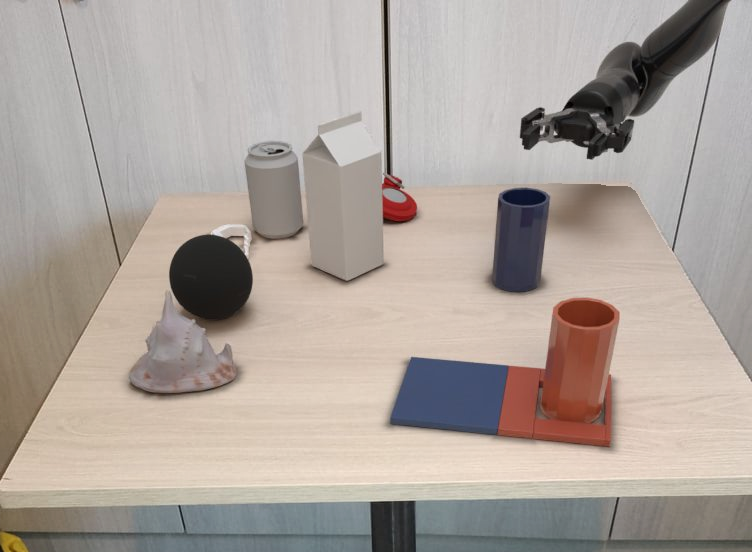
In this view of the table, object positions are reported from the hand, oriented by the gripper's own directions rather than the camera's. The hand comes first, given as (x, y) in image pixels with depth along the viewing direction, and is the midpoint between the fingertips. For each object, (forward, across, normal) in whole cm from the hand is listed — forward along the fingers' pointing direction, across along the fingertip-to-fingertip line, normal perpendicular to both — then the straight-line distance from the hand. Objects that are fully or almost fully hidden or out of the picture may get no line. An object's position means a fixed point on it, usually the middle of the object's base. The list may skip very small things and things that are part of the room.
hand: (558, 146), depth 104 cm
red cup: (+36, +16, +13) cm, 41 cm away
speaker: (+36, -30, +14) cm, 49 cm away
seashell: (+48, -25, +14) cm, 56 cm away
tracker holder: (-3, -26, +14) cm, 30 cm away
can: (+11, -38, +14) cm, 42 cm away
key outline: (+19, -39, +14) cm, 46 cm away
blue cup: (+11, 0, +14) cm, 18 cm away
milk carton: (+17, -22, +14) cm, 31 cm away
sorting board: (+38, +9, +13) cm, 41 cm away
